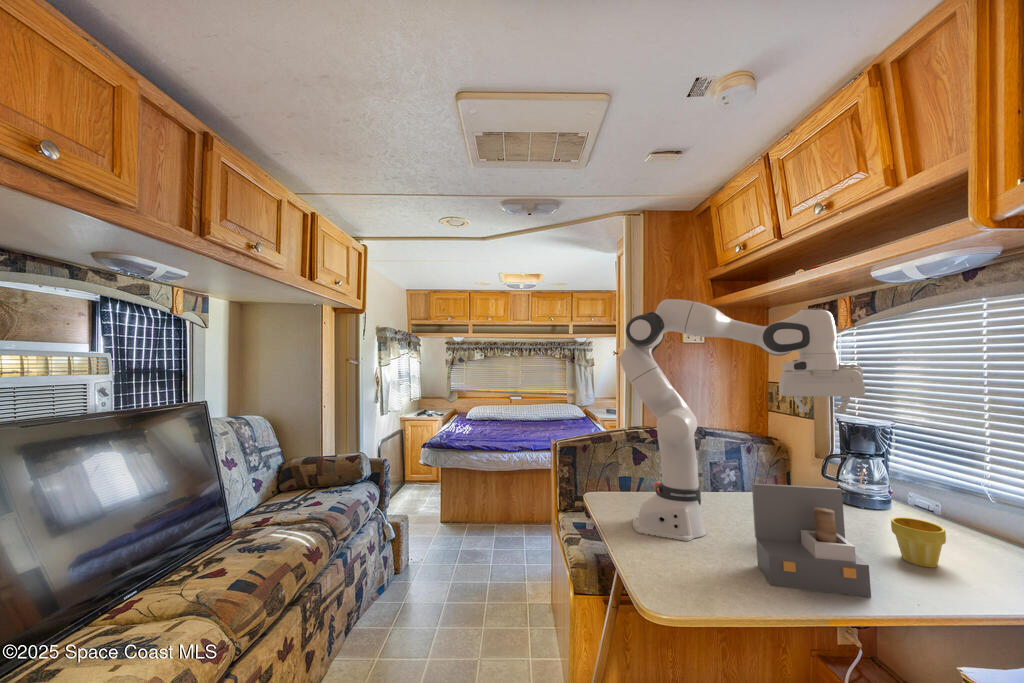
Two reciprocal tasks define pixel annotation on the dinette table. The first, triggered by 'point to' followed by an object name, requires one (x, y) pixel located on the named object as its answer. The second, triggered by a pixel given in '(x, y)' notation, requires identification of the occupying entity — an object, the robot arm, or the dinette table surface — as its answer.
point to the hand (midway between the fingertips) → (822, 412)
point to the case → (805, 541)
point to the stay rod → (825, 525)
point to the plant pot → (919, 540)
